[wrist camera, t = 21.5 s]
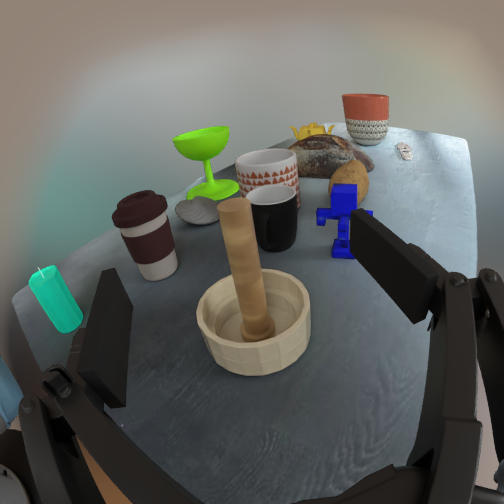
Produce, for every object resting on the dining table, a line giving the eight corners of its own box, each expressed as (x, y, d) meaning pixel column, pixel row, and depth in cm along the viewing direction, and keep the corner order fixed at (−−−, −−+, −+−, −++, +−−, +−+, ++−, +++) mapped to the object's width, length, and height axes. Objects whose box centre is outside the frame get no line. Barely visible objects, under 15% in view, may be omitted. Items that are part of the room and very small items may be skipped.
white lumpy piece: (400, 159, 91) (400, 157, 91) (396, 142, 112) (396, 140, 111) (416, 161, 89) (416, 158, 88) (408, 143, 109) (408, 141, 109)
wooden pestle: (253, 351, 35) (223, 219, 25) (235, 331, 38) (203, 205, 29) (282, 334, 37) (265, 202, 27) (263, 316, 40) (241, 191, 30)
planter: (343, 148, 108) (339, 96, 97) (347, 138, 123) (343, 93, 112) (391, 151, 101) (390, 97, 89) (388, 140, 116) (387, 94, 104)
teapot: (337, 145, 114) (336, 123, 109) (310, 151, 110) (308, 127, 105) (316, 140, 126) (314, 119, 120) (290, 145, 121) (288, 124, 116)
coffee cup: (156, 293, 49) (125, 215, 41) (127, 277, 54) (99, 207, 46) (195, 263, 55) (174, 188, 47) (164, 251, 60) (143, 184, 52)
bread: (294, 153, 110) (291, 128, 105) (377, 157, 95) (377, 130, 90) (264, 175, 91) (259, 145, 85) (369, 182, 76) (368, 147, 71)
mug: (260, 230, 61) (253, 184, 56) (303, 232, 58) (300, 184, 53) (241, 265, 52) (231, 213, 47) (292, 268, 49) (287, 213, 44)
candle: (52, 331, 43) (18, 278, 36) (67, 309, 48) (38, 257, 41) (73, 335, 42) (38, 278, 35) (88, 311, 47) (58, 255, 40)
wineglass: (186, 207, 78) (171, 144, 69) (185, 189, 92) (173, 135, 82) (244, 194, 80) (233, 130, 70) (234, 178, 93) (225, 123, 84)
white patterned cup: (240, 201, 76) (232, 154, 69) (292, 192, 76) (287, 145, 70) (247, 225, 64) (237, 169, 57) (308, 213, 65) (303, 158, 58)
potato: (320, 214, 64) (317, 174, 59) (342, 189, 74) (341, 155, 69) (357, 220, 59) (357, 178, 54) (374, 194, 69) (374, 158, 64)
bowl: (241, 397, 30) (230, 368, 27) (193, 329, 40) (180, 298, 37) (331, 339, 35) (333, 305, 32) (271, 289, 45) (267, 257, 42)
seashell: (171, 222, 72) (185, 230, 64) (168, 200, 70) (182, 205, 62) (213, 212, 77) (232, 218, 69) (210, 191, 75) (229, 195, 67)
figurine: (373, 254, 49) (377, 189, 42) (340, 270, 47) (341, 201, 40) (346, 236, 55) (346, 176, 48) (314, 249, 53) (311, 186, 46)
